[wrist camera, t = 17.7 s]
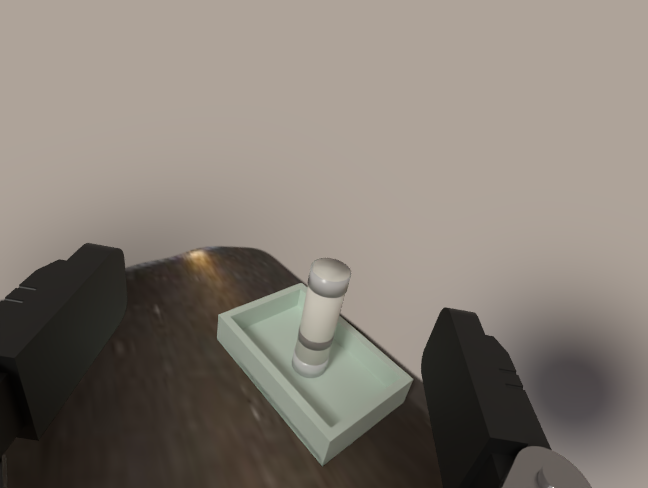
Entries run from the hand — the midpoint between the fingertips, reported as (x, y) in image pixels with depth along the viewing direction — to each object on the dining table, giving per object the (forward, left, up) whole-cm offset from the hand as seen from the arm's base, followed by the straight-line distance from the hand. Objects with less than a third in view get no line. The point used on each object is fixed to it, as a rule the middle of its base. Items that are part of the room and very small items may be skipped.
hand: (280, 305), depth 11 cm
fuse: (-17, +22, -31) cm, 41 cm away
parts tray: (-17, +22, -32) cm, 42 cm away
